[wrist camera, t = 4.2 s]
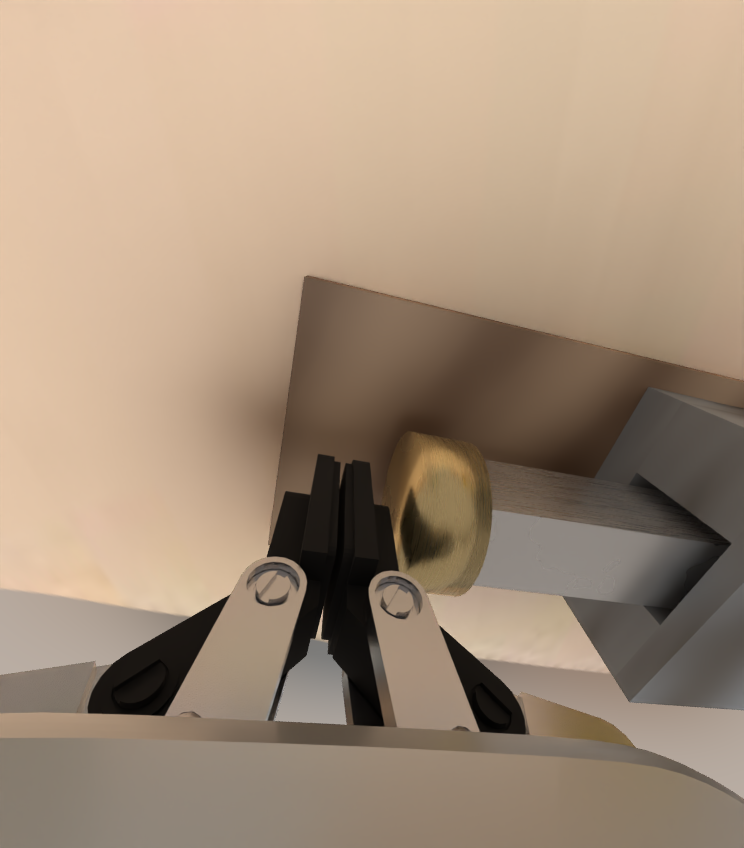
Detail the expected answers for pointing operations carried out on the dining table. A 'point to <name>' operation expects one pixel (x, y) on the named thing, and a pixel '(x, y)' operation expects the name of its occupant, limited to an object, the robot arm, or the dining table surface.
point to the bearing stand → (539, 450)
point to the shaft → (538, 529)
